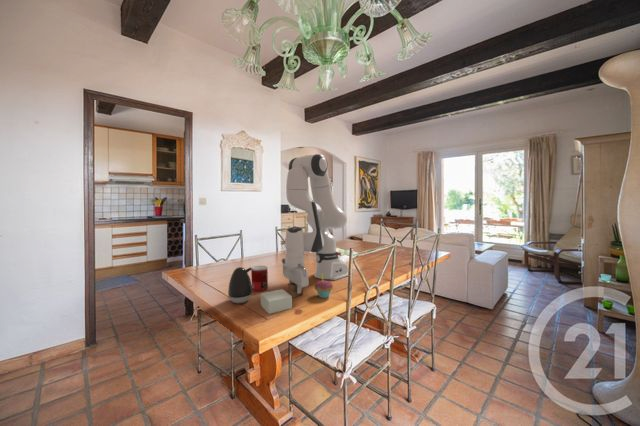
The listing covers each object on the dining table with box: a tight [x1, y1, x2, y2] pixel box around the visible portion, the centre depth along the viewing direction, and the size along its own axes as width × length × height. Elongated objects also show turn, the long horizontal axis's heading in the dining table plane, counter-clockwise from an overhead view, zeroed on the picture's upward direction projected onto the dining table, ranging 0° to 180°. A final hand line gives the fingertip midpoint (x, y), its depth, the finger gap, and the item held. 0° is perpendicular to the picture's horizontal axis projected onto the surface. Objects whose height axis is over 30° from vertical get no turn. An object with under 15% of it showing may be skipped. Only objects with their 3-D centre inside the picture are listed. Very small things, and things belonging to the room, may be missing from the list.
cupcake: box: [314, 273, 334, 299], centre depth 117 cm, size 9×8×12 cm
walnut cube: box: [287, 282, 304, 298], centre depth 120 cm, size 5×5×5 cm
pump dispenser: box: [227, 266, 253, 304], centre depth 112 cm, size 10×10×15 cm
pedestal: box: [260, 288, 293, 315], centre depth 106 cm, size 10×10×5 cm
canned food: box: [250, 265, 269, 293], centre depth 127 cm, size 8×8×11 cm
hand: (295, 290), depth 120 cm, fingers closed on walnut cube, 5 cm apart
